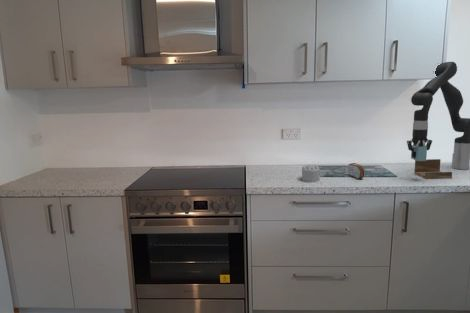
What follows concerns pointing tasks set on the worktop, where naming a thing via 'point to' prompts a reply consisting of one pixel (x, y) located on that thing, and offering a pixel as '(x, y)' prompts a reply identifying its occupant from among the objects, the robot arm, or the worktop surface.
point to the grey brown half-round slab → (356, 170)
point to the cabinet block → (420, 153)
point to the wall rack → (430, 169)
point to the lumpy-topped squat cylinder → (310, 173)
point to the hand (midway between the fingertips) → (418, 157)
